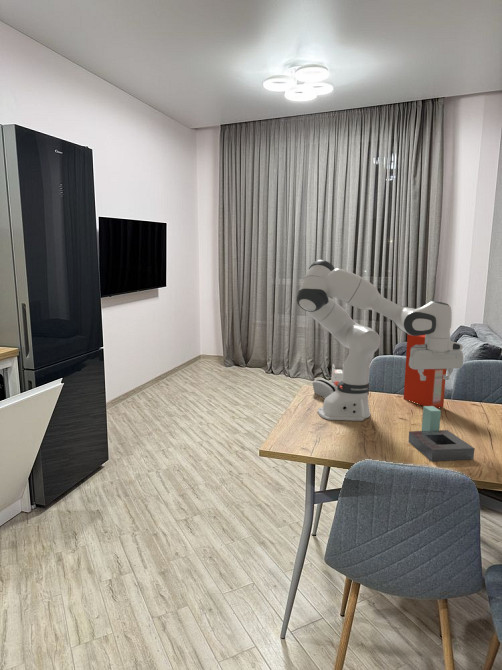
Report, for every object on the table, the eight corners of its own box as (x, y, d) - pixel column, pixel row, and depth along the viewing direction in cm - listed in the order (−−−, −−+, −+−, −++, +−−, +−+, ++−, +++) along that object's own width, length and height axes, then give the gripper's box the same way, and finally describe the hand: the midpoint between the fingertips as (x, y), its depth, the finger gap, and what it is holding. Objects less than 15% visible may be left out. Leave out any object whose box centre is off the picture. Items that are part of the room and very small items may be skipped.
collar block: (431, 461, 156) (432, 449, 156) (408, 441, 173) (409, 431, 172) (473, 459, 158) (474, 448, 158) (446, 440, 175) (447, 430, 174)
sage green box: (429, 436, 179) (431, 411, 177) (421, 430, 185) (423, 406, 183) (438, 436, 179) (441, 410, 178) (431, 430, 185) (432, 406, 184)
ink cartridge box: (343, 396, 229) (344, 367, 226) (332, 396, 229) (334, 367, 227) (340, 391, 237) (341, 363, 235) (330, 391, 237) (331, 363, 235)
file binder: (429, 409, 211) (435, 339, 206) (403, 399, 226) (407, 333, 221) (443, 407, 214) (449, 338, 209) (415, 397, 230) (420, 332, 224)
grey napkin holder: (343, 401, 222) (338, 382, 219) (335, 405, 220) (330, 387, 217) (322, 392, 236) (317, 374, 233) (314, 396, 234) (310, 378, 231)
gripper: (414, 346, 172) (412, 382, 174) (466, 345, 174) (463, 381, 177) (407, 343, 178) (404, 378, 180) (457, 342, 181) (454, 377, 183)
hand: (434, 380), depth 178 cm, fingers open, 8 cm apart
